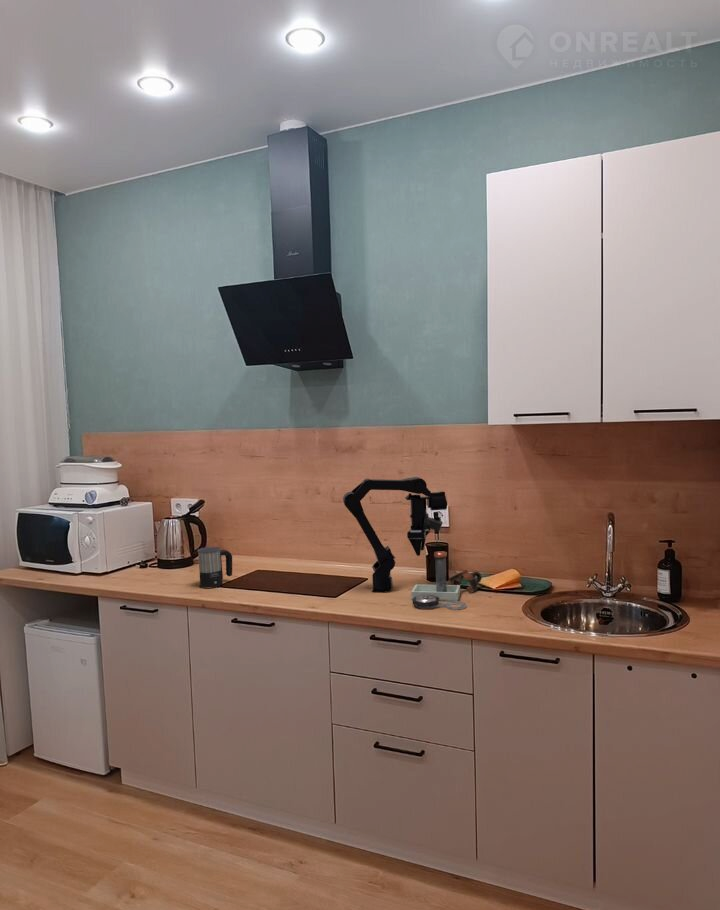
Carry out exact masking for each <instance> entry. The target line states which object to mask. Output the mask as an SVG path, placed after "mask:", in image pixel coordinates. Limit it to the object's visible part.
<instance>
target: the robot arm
mask: <svg viewBox="0 0 720 910" xmlns="http://www.w3.org/2000/svg"><path fill="white" fill-rule="evenodd" d="M427 485H428V484H427V482H426V480H424V479H423V478H421V477H419V476H414V477H407V478H404V479H384V478H383V479H382V478H381V479H380V478H379V479H378V478H377V479H375V478H373V479H372V478H364V479H363V480H362V482H361V483H359V484H358V485H357V486H356V487H354V488H353V489H352V490H351V491H348V492H345V494H344V495H343V497H342V502H343V505H344V507H346V508H347V510H348V511H349V512H350V513H351V514H352V516H353V517H354V518H355V519H356V521H357V523H358V525H359V526H360V528H361V530H362V532H363V533H364V535H365V537H366V538H367V540H368V542H369V544H370V546H371V547H372V550H373V552H374V555H375V558H376V562H375V563H374V564H373V565H372V566H371V568H372V570H373V573H372V575H371V576H372V577H371V578H372V590H371V592H373V593H390V591H391V590H392V589H393V588H394V587H393V577H392V575H391V571H392V570H393V569H394V568H395V565H396V561H395V559H396V557H395V555H394V554H393V553H392V550H391V548H390V547H389V545H387V546H384V545H383V543H382V542H381V540H380V538H379V537H378V535H377V533H376V531H375V530H374V528H373V527H372V525H371V523H370V520H368V518H367V516H366V514H365V511H364V509H363V505H362V503H361V501H362V499H364V498H365V497H366V495H368V493H369V492H370V491H401V492H402V491H403V492H407V493H408V494H407V495H406V496H405V497H404V499H405V500H406V501H410V514H409V517H410V518H411V519H410V521H411V525H410V530H408V531H407V534H406V537H407V539H408V541H409V542H410V544H411V546H412V549H413V550H414V552H415V554H416V556H417V557H420V555H421V552H422V551H424V550H425V544H426V539H427V536H428V535H429V534H430V532H431V530H433V531H435V532H438V533H439V532H440V531H441V528H442V526H443V521H442V520H441V517H440V516H435V517H430V516H429V513H428V512H427V508H428V509H430V511H445V510H447V508H448V501H447V496H446V492H445V491H444V490H443V491H441V490H440V491H436V492H435V491H434V492H431V490H430V489H429V488H428V486H427ZM421 495H424V496H421Z"/></svg>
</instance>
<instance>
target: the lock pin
mask: <svg viewBox="0 0 720 910" xmlns="http://www.w3.org/2000/svg"><path fill="white" fill-rule="evenodd" d="M447 554H448V552H447V551H443V550H442V551H439V550H438V551H434V552H433V556H434V558H435V585H436V592H447V585H448V584H447V556H448V555H447Z"/></svg>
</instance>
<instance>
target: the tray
mask: <svg viewBox="0 0 720 910" xmlns="http://www.w3.org/2000/svg"><path fill="white" fill-rule="evenodd" d="M421 595H433V596H436V597H439V602H452V601H459V599H460V596H461V586H460V585H450V584H447V592H436V584H424V583H423V584H419V583H418V584H414V587H413V588H412V589H411V592H410V596H411V601H412V600H413V598H414V597H417V596H421Z"/></svg>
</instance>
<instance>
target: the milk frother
mask: <svg viewBox="0 0 720 910" xmlns="http://www.w3.org/2000/svg"><path fill="white" fill-rule="evenodd" d="M197 554H198V567H199V587H200V586H201V587H216V588H218V587H217V586H219V587H221V586H220V585H222V584H223V585H224V582H223V579H224V574H223V561H222V556H225V574H226V575H227V577H232V576H233V555H232V553H231V552H230V551H229V550H226V549H222V548H221V547H220V546H207V547H201V548H199V549H197ZM223 585H222V586H223ZM201 587H200V588H201Z"/></svg>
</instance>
